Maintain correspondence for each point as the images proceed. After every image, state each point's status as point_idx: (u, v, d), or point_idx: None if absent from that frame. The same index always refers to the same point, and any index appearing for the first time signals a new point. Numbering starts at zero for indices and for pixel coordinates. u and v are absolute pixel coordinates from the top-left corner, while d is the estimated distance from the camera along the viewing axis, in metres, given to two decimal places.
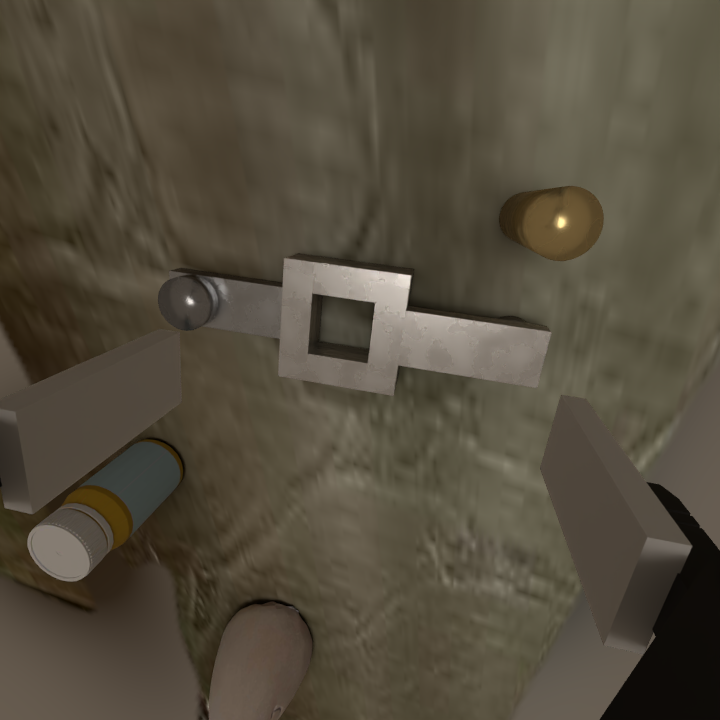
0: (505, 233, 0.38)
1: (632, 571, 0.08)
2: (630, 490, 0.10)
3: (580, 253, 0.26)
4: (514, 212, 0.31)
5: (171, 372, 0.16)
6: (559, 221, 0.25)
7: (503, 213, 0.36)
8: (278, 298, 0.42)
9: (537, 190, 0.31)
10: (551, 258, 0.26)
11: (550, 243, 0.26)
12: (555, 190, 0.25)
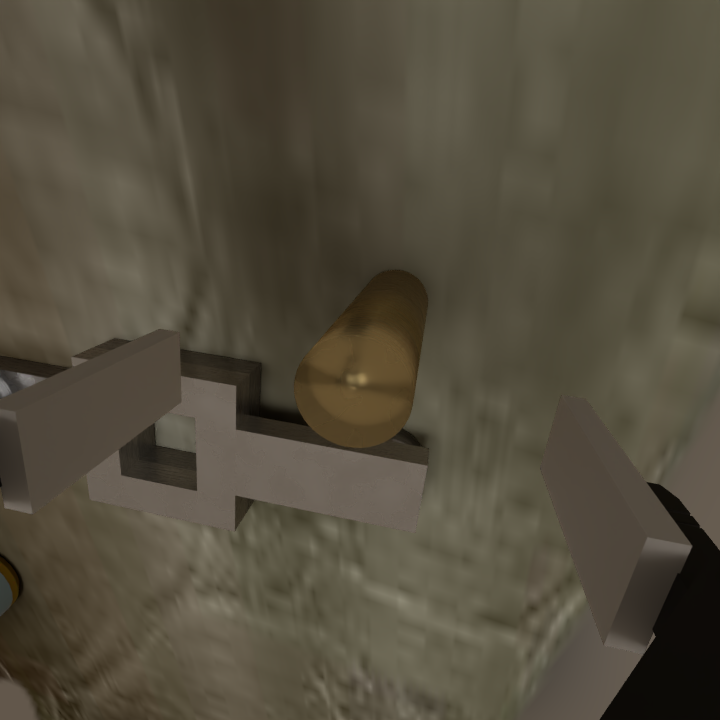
0: None
1: (632, 571, 0.08)
2: (630, 490, 0.10)
3: (383, 439, 0.15)
4: None
5: (171, 372, 0.16)
6: (344, 389, 0.15)
7: None
8: None
9: (372, 293, 0.21)
10: (339, 443, 0.16)
11: (334, 421, 0.15)
12: (330, 341, 0.14)
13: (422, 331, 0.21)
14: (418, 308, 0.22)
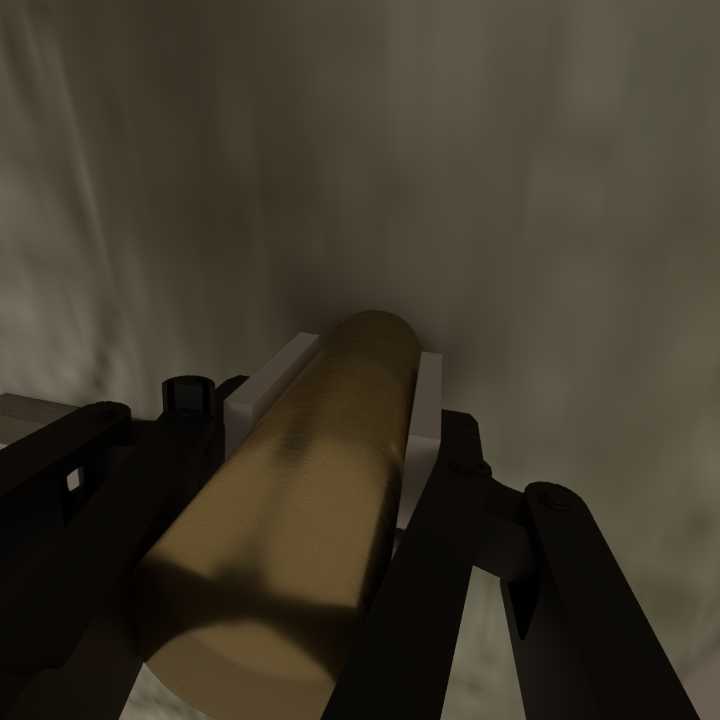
0: None
1: None
2: (422, 409, 0.12)
3: None
4: None
5: None
6: (226, 631, 0.07)
7: None
8: None
9: (327, 365, 0.13)
10: None
11: (213, 682, 0.07)
12: (187, 539, 0.06)
13: (409, 427, 0.13)
14: (403, 384, 0.14)
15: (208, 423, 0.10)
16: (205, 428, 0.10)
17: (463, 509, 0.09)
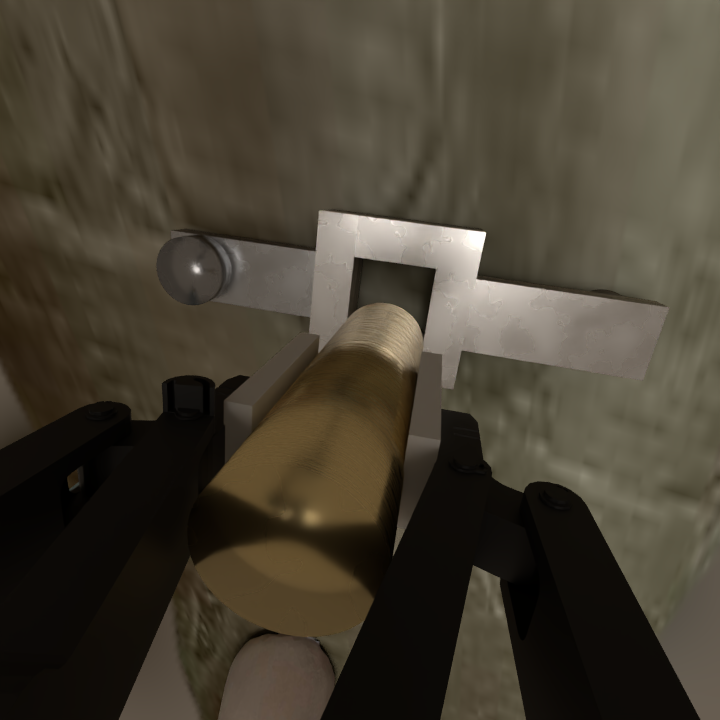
0: None
1: None
2: (422, 409, 0.12)
3: (341, 627, 0.09)
4: None
5: None
6: (270, 547, 0.09)
7: None
8: (307, 266, 0.34)
9: (341, 347, 0.15)
10: (268, 627, 0.09)
11: (257, 594, 0.09)
12: (242, 471, 0.08)
13: (413, 402, 0.15)
14: (408, 366, 0.16)
15: (208, 423, 0.10)
16: (205, 428, 0.10)
17: (463, 509, 0.09)
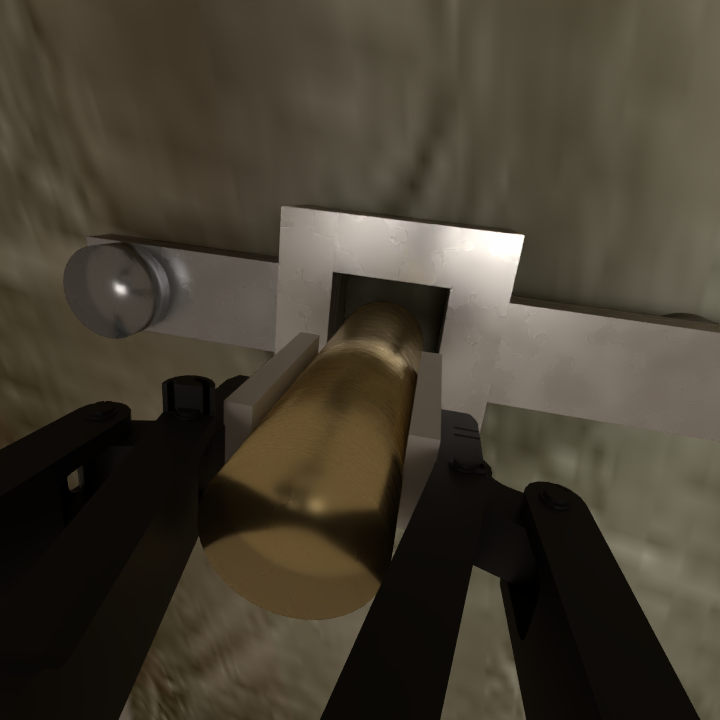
0: None
1: None
2: (422, 409, 0.12)
3: (344, 609, 0.09)
4: None
5: None
6: (277, 533, 0.09)
7: None
8: (271, 283, 0.24)
9: (343, 344, 0.15)
10: (275, 611, 0.10)
11: (264, 578, 0.09)
12: (250, 459, 0.09)
13: (413, 397, 0.15)
14: (408, 362, 0.16)
15: (208, 423, 0.10)
16: (205, 428, 0.10)
17: (463, 509, 0.09)
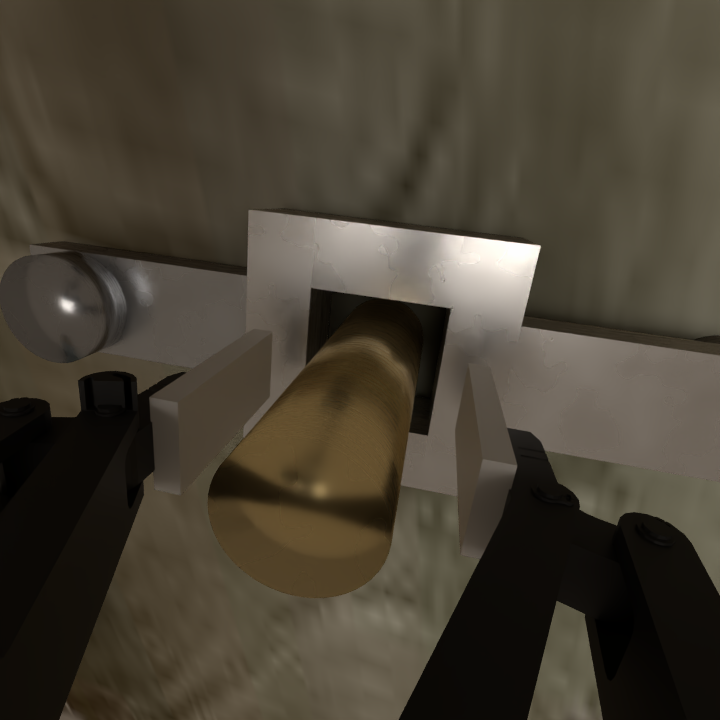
0: None
1: (475, 489, 0.10)
2: (488, 429, 0.11)
3: (347, 588, 0.10)
4: None
5: (265, 369, 0.17)
6: (283, 515, 0.09)
7: None
8: (242, 299, 0.21)
9: (345, 338, 0.15)
10: (281, 589, 0.10)
11: (271, 558, 0.10)
12: (258, 444, 0.09)
13: (413, 390, 0.15)
14: (409, 357, 0.16)
15: (132, 418, 0.10)
16: (129, 423, 0.10)
17: (546, 542, 0.08)
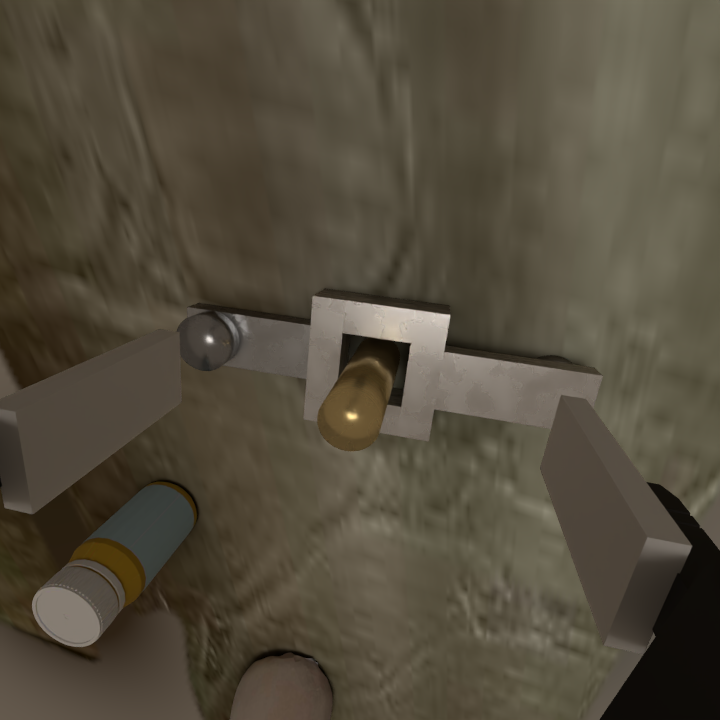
0: None
1: (632, 571, 0.08)
2: (630, 490, 0.10)
3: (365, 446, 0.28)
4: None
5: (171, 372, 0.16)
6: (344, 419, 0.28)
7: None
8: (304, 337, 0.40)
9: (361, 358, 0.34)
10: (341, 448, 0.29)
11: (338, 436, 0.28)
12: (336, 394, 0.28)
13: (391, 381, 0.34)
14: (390, 366, 0.35)
15: None
16: None
17: None
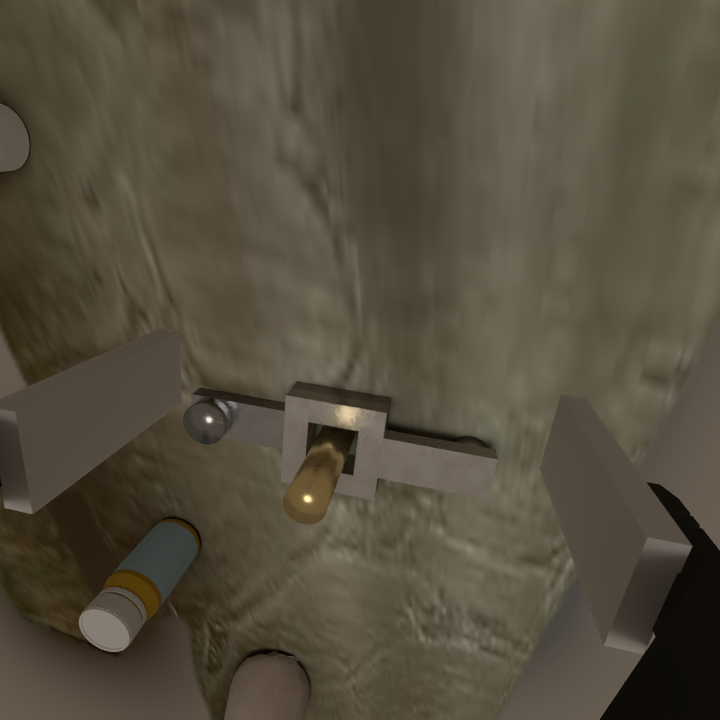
0: None
1: (632, 571, 0.08)
2: (630, 490, 0.10)
3: (316, 521, 0.41)
4: None
5: (171, 372, 0.16)
6: (301, 503, 0.41)
7: None
8: (280, 419, 0.52)
9: (319, 446, 0.47)
10: (300, 522, 0.41)
11: (298, 514, 0.41)
12: (296, 487, 0.40)
13: (342, 463, 0.47)
14: (342, 450, 0.48)
15: None
16: None
17: None
